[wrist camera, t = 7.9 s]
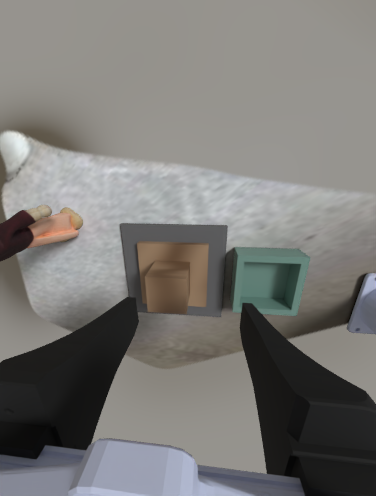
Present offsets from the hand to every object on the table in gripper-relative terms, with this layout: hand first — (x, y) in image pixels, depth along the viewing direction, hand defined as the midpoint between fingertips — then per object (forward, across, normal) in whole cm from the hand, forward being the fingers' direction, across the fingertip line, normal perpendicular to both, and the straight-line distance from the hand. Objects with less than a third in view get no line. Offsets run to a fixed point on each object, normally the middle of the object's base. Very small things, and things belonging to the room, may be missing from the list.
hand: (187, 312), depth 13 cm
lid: (+10, +3, +2) cm, 11 cm away
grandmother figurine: (+10, +15, -4) cm, 19 cm away
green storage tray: (+10, -8, +2) cm, 13 cm away
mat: (+10, +3, +2) cm, 11 cm away
